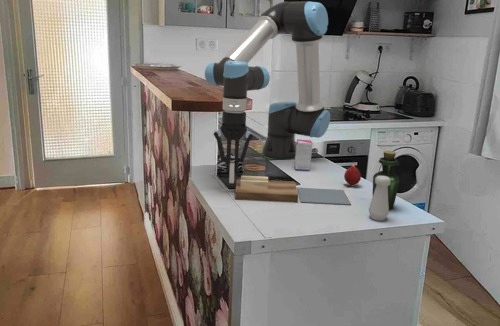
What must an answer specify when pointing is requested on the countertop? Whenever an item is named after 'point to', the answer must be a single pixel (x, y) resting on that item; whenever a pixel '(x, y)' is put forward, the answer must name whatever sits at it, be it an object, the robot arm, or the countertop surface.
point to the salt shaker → (380, 199)
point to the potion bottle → (387, 166)
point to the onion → (352, 175)
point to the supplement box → (303, 155)
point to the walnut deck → (269, 192)
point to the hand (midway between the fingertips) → (231, 181)
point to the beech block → (254, 182)
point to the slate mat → (323, 196)
